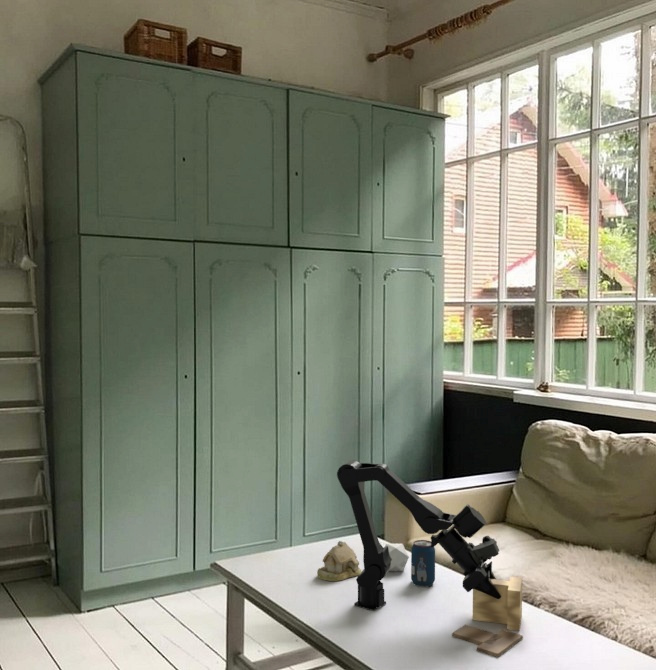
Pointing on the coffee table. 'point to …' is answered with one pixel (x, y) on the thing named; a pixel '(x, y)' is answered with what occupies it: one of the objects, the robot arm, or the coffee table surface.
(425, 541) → the soda can
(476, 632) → the walnut T outline
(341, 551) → the ceramic model
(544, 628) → the coffee table surface
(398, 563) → the white polyhedron
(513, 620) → the oak T block
